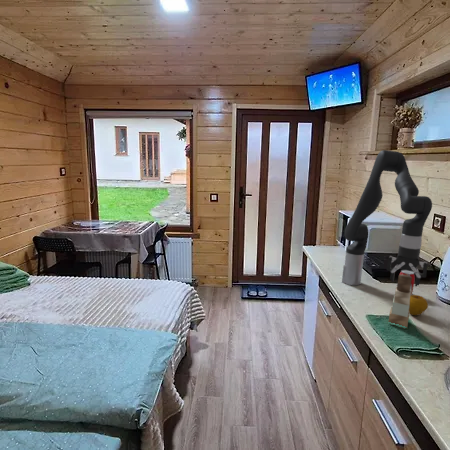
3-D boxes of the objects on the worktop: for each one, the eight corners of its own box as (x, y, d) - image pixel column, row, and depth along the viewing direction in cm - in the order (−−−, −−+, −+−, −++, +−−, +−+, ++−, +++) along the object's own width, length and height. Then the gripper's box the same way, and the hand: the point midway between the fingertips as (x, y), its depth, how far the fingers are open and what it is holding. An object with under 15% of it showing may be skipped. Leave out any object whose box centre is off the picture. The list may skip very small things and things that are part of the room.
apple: (425, 321, 140) (429, 302, 138) (402, 315, 144) (405, 296, 142) (426, 313, 147) (429, 294, 145) (403, 307, 152) (406, 289, 150)
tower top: (393, 302, 135) (395, 290, 134) (394, 297, 139) (396, 286, 138) (408, 305, 132) (410, 294, 131) (409, 300, 137) (410, 289, 136)
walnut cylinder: (396, 290, 134) (398, 276, 133) (397, 286, 138) (399, 273, 137) (409, 293, 131) (411, 279, 130) (410, 289, 135) (412, 276, 134)
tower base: (388, 324, 137) (389, 313, 136) (389, 317, 143) (391, 307, 141) (406, 329, 133) (408, 318, 132) (407, 322, 139) (409, 311, 138)
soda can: (414, 297, 164) (417, 274, 161) (399, 295, 165) (402, 273, 162) (409, 291, 170) (412, 270, 168) (394, 290, 172) (397, 268, 169)
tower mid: (391, 313, 136) (392, 302, 135) (392, 307, 141) (393, 297, 140) (407, 317, 133) (409, 305, 132) (407, 311, 138) (409, 300, 137)
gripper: (389, 244, 131) (384, 282, 134) (430, 250, 124) (424, 290, 127) (391, 240, 137) (386, 276, 141) (430, 246, 130) (424, 284, 133)
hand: (404, 283), depth 134 cm, fingers open, 8 cm apart
